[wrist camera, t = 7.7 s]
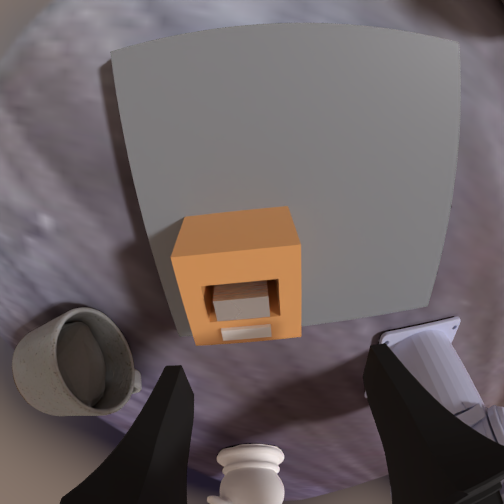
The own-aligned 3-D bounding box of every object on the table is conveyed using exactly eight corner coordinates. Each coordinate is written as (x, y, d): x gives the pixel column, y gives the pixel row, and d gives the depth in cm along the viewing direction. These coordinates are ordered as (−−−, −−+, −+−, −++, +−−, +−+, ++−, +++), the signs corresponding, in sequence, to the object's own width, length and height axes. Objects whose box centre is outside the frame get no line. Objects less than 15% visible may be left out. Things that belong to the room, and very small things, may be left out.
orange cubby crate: (288, 206, 16) (301, 247, 13) (291, 288, 19) (301, 339, 16) (184, 216, 16) (169, 260, 13) (202, 297, 19) (195, 348, 16)
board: (421, 296, 22) (427, 306, 21) (181, 324, 22) (179, 336, 21) (447, 42, 12) (458, 42, 11) (118, 53, 13) (110, 51, 12)
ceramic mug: (27, 317, 22) (-10, 385, 15) (80, 284, 20) (37, 368, 14) (106, 388, 27) (89, 455, 20) (168, 371, 25) (156, 450, 19)
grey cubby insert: (263, 262, 18) (270, 316, 14) (221, 266, 18) (217, 321, 14) (262, 243, 17) (268, 296, 14) (218, 248, 17) (212, 301, 14)
